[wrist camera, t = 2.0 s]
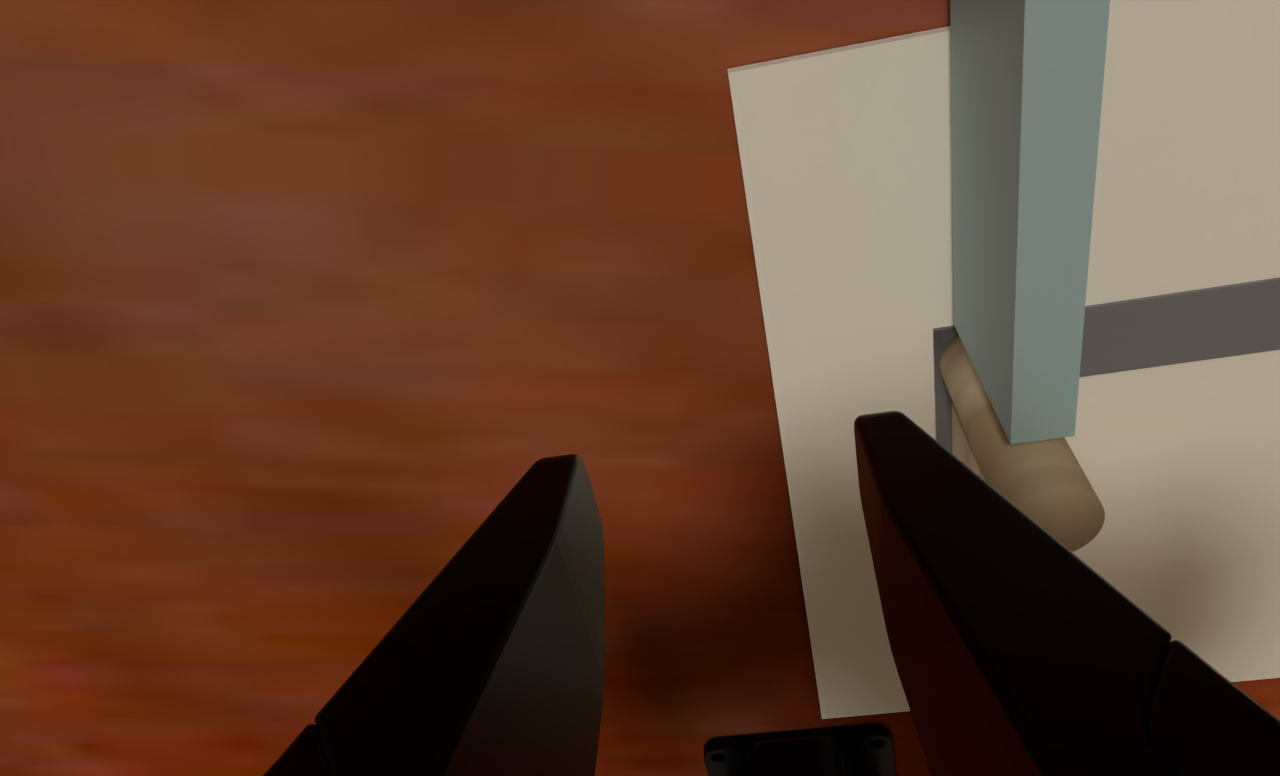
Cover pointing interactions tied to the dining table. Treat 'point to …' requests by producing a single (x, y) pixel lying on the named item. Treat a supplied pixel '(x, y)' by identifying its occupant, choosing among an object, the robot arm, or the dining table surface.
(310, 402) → the dining table surface
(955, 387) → the fence fixed
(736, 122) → the card
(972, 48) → the fence flap
